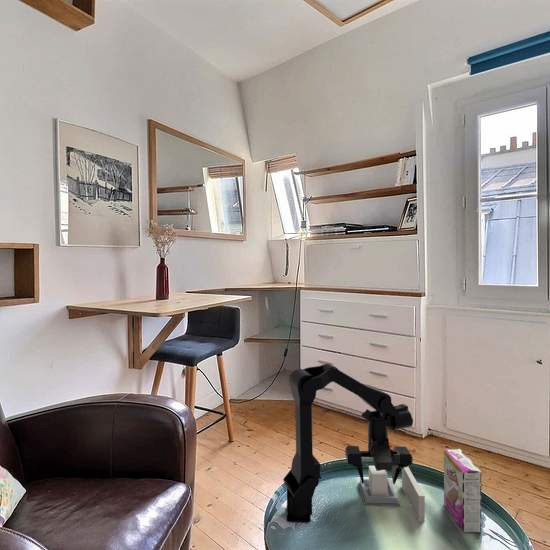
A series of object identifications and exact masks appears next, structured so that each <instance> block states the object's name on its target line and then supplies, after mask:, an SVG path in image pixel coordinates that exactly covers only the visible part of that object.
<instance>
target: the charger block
mask: <svg viewBox="0 0 550 550" xmlns="http://www.w3.org/2000/svg"><path fill="white" fill-rule="evenodd" d="M368 479H369V490H370V493H371V496H388V479H389V477H388V472H387V470H377V469H376V468H375V465H368Z"/></svg>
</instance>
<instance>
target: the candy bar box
mask: <svg viewBox="0 0 550 550" xmlns="http://www.w3.org/2000/svg"><path fill="white" fill-rule="evenodd" d="M443 504H444V507H445V508H446V509H447V510H448V512H449V514H450V515H451V516H452V518H453V519H454V521H455V522H456V524H457V525H458V526H459V528H460V530H461V531H462V532H463V533H465V534H467V533H468V534H469V533H470V534H471V533H472V534H473V533H476V534H478V533H482V471H481V469H480V468H479V467H477V466H476V464H475V463H474V462H473V461H472V459H470V458H469V457H468V456H467V455H466V454H465V453H464V451H462V449H461V448H450V449H449V448H445V449H443Z"/></svg>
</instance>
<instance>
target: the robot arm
mask: <svg viewBox="0 0 550 550" xmlns="http://www.w3.org/2000/svg"><path fill="white" fill-rule="evenodd" d="M288 382H289V388H290V392H291V395H292V398H293V401H294V408H295V409H294V414H295V417H294V419H295V422H294V423H295V453H294V456H293V457H292V460H291V466H290V470H289V471H288V472H287V474H286V475H285V476H284V477H283V479H282V480H283V482H284V486H285V487H286V522H289V523H291V522H292V523H311V521H312V518H311V516H313V497H314V494H315V491H316V489H317V487H319V483H320V480H321V479H322V477H321V463H320V461H319V460H318V459H317V458H316V456H314V453H313V409H312V408H313V403H314V401H315V399H316V398H317V397H316V396H317V391H320V390H323V389H324V388H325V387H326V386H328V385H329V384H331V383H335V384H336V385H338V386H340V387H342V388H344V389H346V390H347V391H349V392H351V393H353V394H354V395H356V396H357V397H359V398H360V399H361V400H362V401H363V402H364V403H365V404H366V405H368V407H370V408H372V409H373V410H370V409H368V408H367V409H366V410H365V411H363V413H362V414H361V417H362V418H363V419H364V420H365V421H367V450H360V447H359V446H358V445H347V446H346V447H345V448H344V452H345V453H344V455H345V459H346V461H347V465H350V466H352V467H355V468H356V470H357V472H358V474H359V479H361V482H362V484H363V483H364V479H365V478H364V472H363V467H364V466H363V463H362V461H363V460H362V459H373V464H374V465H373V466H375V468H376V469H377V470H386V471H391V472H392V473H391V482H392V483H393V484H392V485H395V484H396V482H397V480H398V478H399V475H400V472H402V469H403V468H405V467H409V466H412V465H413V463H414V459H413V455H412V453H411V451H410V450H409V449H408V447H406V446H394V447H393V449H391V446H390V439H389V429H390V430H392V431H396V430H397V431H398V430H402V429H407V428H411V427H412V426H413V424H414V419H413V417H412V414H411V412H410V410H409V406H408V405H407V404H405V403H400V404H398V405H394V404H393V402H392V397H391V395H389V394H388V393H387V392H384V391H383V390H381V389H379V388H377V387H375V386H372V385H369V384H365V383H362V382H360V381H359V380H357V379H355V378H353V377H351V376H350V375H348V374H347V373H345V372H343V371H341V370H339V368H338V367H336V366H334V365H333V364H330V363H324V364H321V365H316V366H309V367H306V368H297V369H294V370H293V371H292V372H291V373H290V374H289V378H288Z"/></svg>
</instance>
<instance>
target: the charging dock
mask: <svg viewBox="0 0 550 550" xmlns="http://www.w3.org/2000/svg"><path fill="white" fill-rule="evenodd" d="M392 483H393V482H392V480H391V479H390V478H388V496H371V493H370V490H369V478H364V483H363V484H362V482H361V478H359V482H358V488H359V491H360V494H361V498H362V500H363V504H364V506H377V507H383V506H385V507H401V503H400V501H399V498H398V495H397V493H396V491H395V488H394V486H393V484H392Z"/></svg>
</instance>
